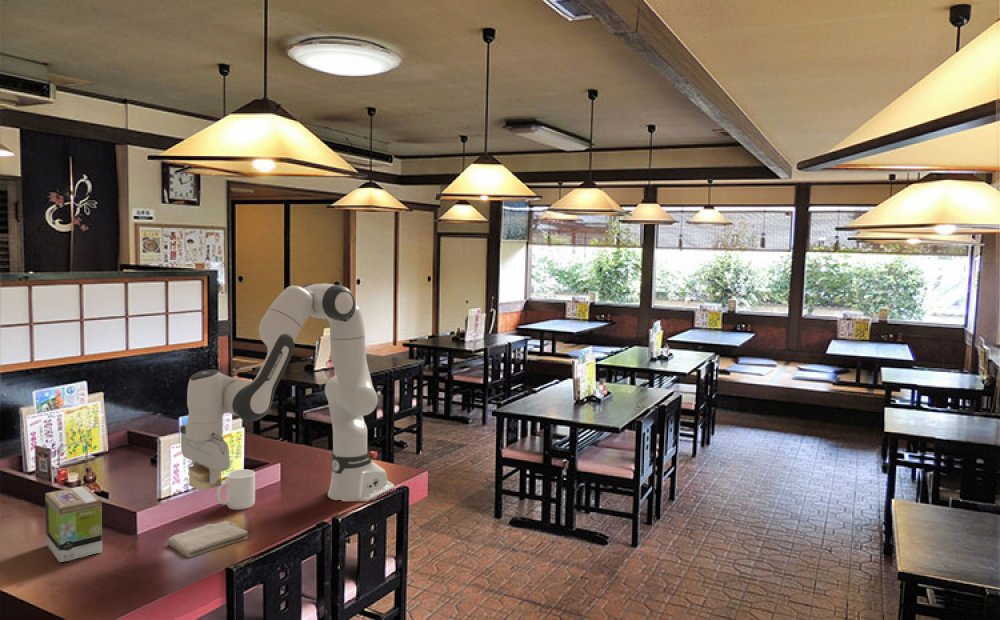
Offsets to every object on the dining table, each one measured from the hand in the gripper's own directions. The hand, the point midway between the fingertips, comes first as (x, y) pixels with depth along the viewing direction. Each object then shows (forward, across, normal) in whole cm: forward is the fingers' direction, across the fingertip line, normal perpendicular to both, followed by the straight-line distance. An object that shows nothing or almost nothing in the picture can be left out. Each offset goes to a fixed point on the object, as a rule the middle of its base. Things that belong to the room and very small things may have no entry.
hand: (205, 479), depth 186 cm
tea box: (+18, +20, +26) cm, 37 cm away
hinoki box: (+2, 0, 0) cm, 2 cm away
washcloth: (+18, -1, 0) cm, 18 cm away
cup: (+18, +17, -18) cm, 30 cm away
